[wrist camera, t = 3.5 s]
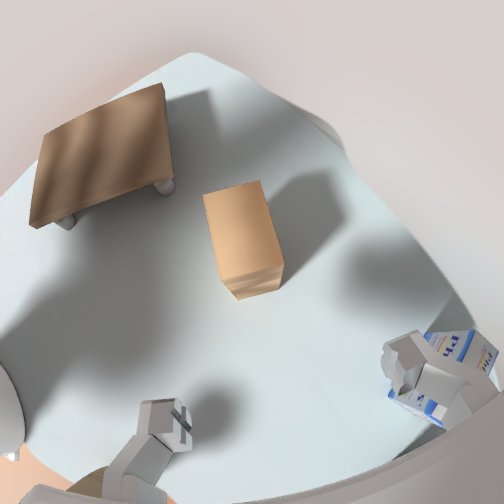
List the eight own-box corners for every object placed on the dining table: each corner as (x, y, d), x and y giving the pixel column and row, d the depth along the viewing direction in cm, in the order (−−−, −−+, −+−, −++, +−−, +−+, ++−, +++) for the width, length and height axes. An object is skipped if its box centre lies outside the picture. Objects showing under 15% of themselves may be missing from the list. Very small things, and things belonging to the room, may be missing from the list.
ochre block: (237, 300, 27) (220, 279, 17) (223, 241, 28) (202, 194, 19) (278, 289, 27) (284, 263, 17) (262, 231, 29) (259, 180, 19)
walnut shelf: (58, 241, 30) (28, 224, 24) (65, 156, 34) (44, 135, 28) (186, 198, 30) (169, 169, 24) (173, 113, 34) (161, 82, 28)
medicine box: (425, 331, 24) (475, 325, 16) (450, 351, 24) (501, 351, 15) (385, 396, 23) (427, 416, 15) (412, 414, 22) (458, 435, 14)
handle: (101, 480, 21) (25, 529, 7) (107, 443, 23) (17, 487, 8) (136, 499, 20) (70, 563, 6) (144, 463, 22) (66, 527, 8)
